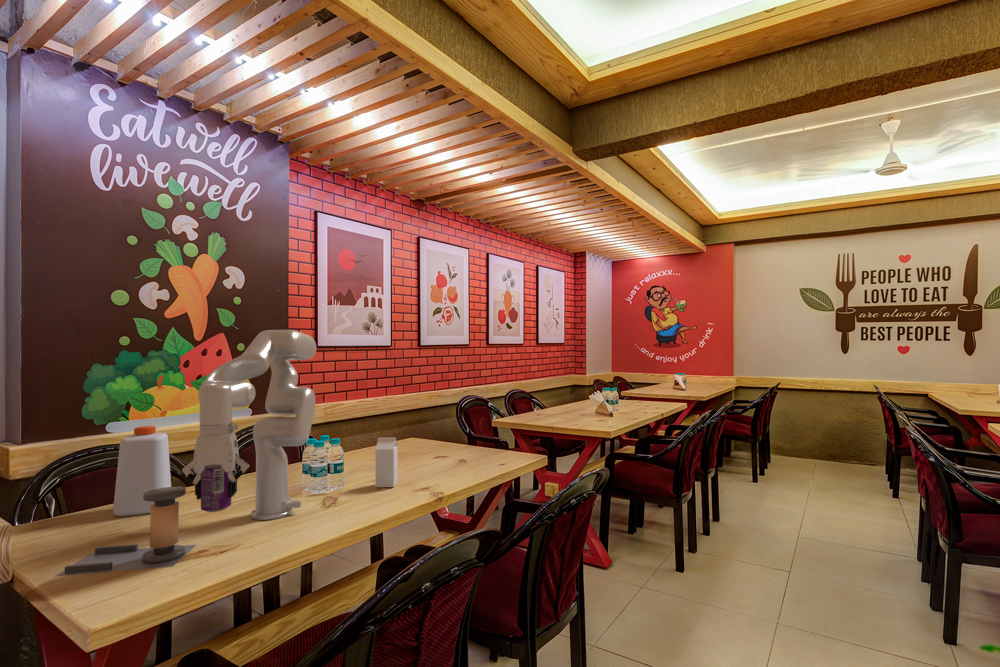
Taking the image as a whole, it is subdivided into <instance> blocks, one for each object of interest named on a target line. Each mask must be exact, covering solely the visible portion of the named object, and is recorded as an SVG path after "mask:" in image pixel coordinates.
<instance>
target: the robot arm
mask: <svg viewBox="0 0 1000 667" xmlns="http://www.w3.org/2000/svg"><path fill="white" fill-rule="evenodd" d="M316 353H317V344H316V341H315V339H314V338H313V337H312V336H311V335H309V334H306V333H304V332H301V331H297V330H295V329H266V330H262V331H260V332H259V333H258V334H257V335H256V336H255V338H253V340H252V341H251V343H250V344H249V345H248V346H247V348H246V349H245V351H243V353H242V354H241V355H239V356H237V357H235V358H232V359H231V360H229V361H227V362H225V363H224V364H221V365H219V366H217V367H216V368H215V369H213V370H212V371H211V372H210V373H209V374H208V375H207V377H206V378H205V379H204V380H203V382H202V383H201V385H200V387H199V390H198V394H197V395H198V396H197V397H198V401H199V435H198V436H196V439H195V440H196V441H195V444H194V450H193V451H194V452H193V460H191V461H190V462H188V464H187V465H186V466H184V467H183V468H182V469H181V471H182V473H183V474H184V475H185V476H186V477H187V478H188V479H189V480H190V481H191V482H192V484H193V485H194V495H195V496H196V501H197V500H198V501H199V500H201V473H202V471H203V470H204V469H205V468H204V466H222V467H221V468H222V469H223V470H224V471H225V472H226V473H228V477H229V479H230V482H229V497H231V498H232V497H234V496H235V495H236V493H237V492H238V479H239V478H241V476H243V474H244V473H246V471H247V470H248V469H249V467H250V464H249V463H248V462H247V461H245V460H244V459H242V458H241V457H240V453H239V444H238V439H237V438H238V437H237V436H236V433H234V431H237V430H238V427H239V426H238V424H234V422H233V408H234V409H236V408H238V409H239V408H245V407H248V406H249V405H251V404H252V403H253V401H254V400H255V398H256V394H257V393H256V388H255V386H254V385H253V383H251V382H249V381H246V380H250V379H254V378H256V377H259V376H261V375H262V376H263V375H264V374H265V373H266V372H267V371H268V370H269V367H270V370H271V377H270V382H269V385H268V386H269V387H268V390H267V394H266V398H265V404H264V405H265V410H266V412H267V413H268V414H270V415H275V416H269V417H268V416H267V417H263V418H261V419H260V418H259V420H257V421H256V422H255V423H254V426H253V428H252V436H253V438H252V439H253V443H254V447H255V509H254V510H252V511H250V512H249V513H250V518H251V519H253V520H256V521H257V520H258V521H269V520H275V519H281V518H284V517H286V516H289V515H290V514H291V513H293V511H294V510H293V509H297V508H298V509H299V508H300V509H301V508H302V501H300V500H292V499H291V496H289V495H288V493H289V492H288V485H289V484H288V482H289V480H288V478H289V476H288V472H289V470H288V468H289V460H288V455H287V454H286V451H285V450H284V448H283V447H301V446H304V445H306V444H307V442H308V441H309V437H310V433H311V430H312V425H313V420H314V415H315V414H314V413H315V409H316V394H315V392H314V390H313V389H312V388H310V387H307V386H297V384H298V380H299V374H298V371H297V370H296V369H295V367H294V365H293V364H291V361H309V360H311V359H313V358H314V357H315V355H316ZM277 415H278V416H277ZM239 466H240V469H239V470H238V472H237V471H236V469H238V468H239ZM192 469H193V471H192Z"/></svg>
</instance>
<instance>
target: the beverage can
mask: <svg viewBox="0 0 1000 667" xmlns="http://www.w3.org/2000/svg"><path fill="white" fill-rule="evenodd" d="M221 467H222V466H204V468H205V469H204V470H203V471H202V473H201V499H200V510H202V511H205V512H207V513H216V512H221V511H224V510H226V509H227V508H229V507H230V506H231V505H232V497H229V482H230V479H229V477H228V473H226V472H225V471H224V470H223V469H222V468H221Z"/></svg>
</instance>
